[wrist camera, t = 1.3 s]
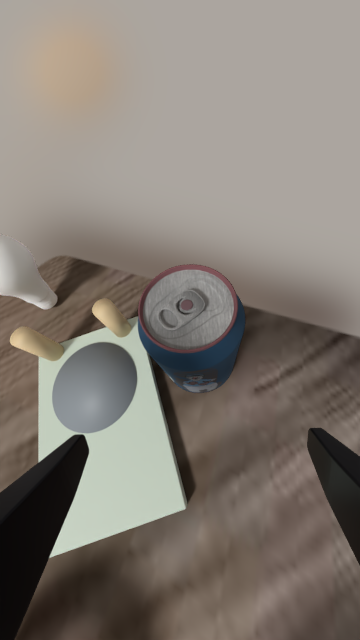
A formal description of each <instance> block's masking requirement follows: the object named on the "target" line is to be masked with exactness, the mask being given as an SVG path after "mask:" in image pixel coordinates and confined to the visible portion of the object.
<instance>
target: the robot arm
mask: <svg viewBox="0 0 360 640" xmlns="http://www.w3.org/2000/svg"><path fill="white" fill-rule="evenodd" d="M307 447H308V451H309V454H310V457H311V459H312V462H313V464H314V467H315V469H316V472H317V475H318V477H319V480H320V482H321V485H322V488H323V490H324V493H325V495H326V498H327V500H328V502H329V504H330V506H331V508H332V510H333V512H334V514H335V516H336V518H337V520H338V522H339V524H340V526H341V528H342V530H343V532H344V535H345V537H346V539H347V541H348V543H349V545H350V547H351V549H352V551H353V553H354V555H355V557H356V559H357V561H358V563H359V565H360V456H358V455H357V454H356V453H354V452H353V451H352V450H350V449H349V448H348V447H346V446H345V445H344V444H342V443H341V442H340V441H338V440H337V439H336V438H334V437H333V436H331V435H330V434H329V433H327V432H326V431H325V430H323V429H322V428H310V429H309V431H308V441H307ZM88 455H89V447H88V444H87V441H86V438H85V436H84V435H83V434H75V435H73V436H71V437H70V438H69V439H68V440H66V441H65V442H64V443H63V444H61V445H60V446H59V447H58V448H56V449H55V450H54V451H52V452H51V453H50V454H49V455H47V456H46V457H45V458H44V459H42V460H41V461H40V462H39V463H37V464H36V465H35V466H34V467H32V468H31V469H30V470H28V471H27V472H26V473H25V474H23V475H22V476H21V477H20V478H18V479H17V480H16V481H15V482H13V483H12V484H11V485H9V486H8V487H7V488H6V489H4V490H3V491H2V492H1V493H0V640H15V637H16V635H17V633H18V630H19V628H20V625H21V623H22V621H23V618H24V616H25V614H26V611H27V609H28V606H29V604H30V602H31V599H32V597H33V595H34V592H35V590H36V588H37V585H38V583H39V580H40V578H41V576H42V573H43V571H44V569H45V566H46V564H47V562H48V559H49V557H50V554H51V552H52V550H53V547H54V545H55V543H56V540H57V538H58V536H59V533H60V531H61V528H62V526H63V524H64V521H65V519H66V517H67V514H68V512H69V509H70V507H71V505H72V502H73V500H74V497H75V495H76V492H77V489H78V486H79V483H80V480H81V477H82V474H83V471H84V468H85V465H86V462H87V459H88Z"/></svg>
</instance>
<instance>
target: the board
mask: <svg viewBox="0 0 360 640" xmlns="http://www.w3.org/2000/svg"><path fill="white" fill-rule="evenodd" d="M92 312H93V314H94V315H95V316H96V317H97V318H98V319H99V320H100V321H101V322H102V323H103V324H104V325H105V326H106V327H105V328H102V329H99V330H96V331H94V332H91V333H88V334H85V335H82V336H79V337H76V338H73V339H71V340H68V341H65V342H62V343H59V344H58V343H57V342H55V341H53V340H51V339H49V338H47V337H45V336H44V335H42V334H40V333H38V332H36V331H34V330H32V329H30V328H29V327H26V326H23V327H20V328H18V329H16V330H15V331H14V332H13V334H12V335H11V338H10V342H11V344H12V345H13V346H15V347H17V348H20V349H22V350H25V351H27V352H30V353H32V354H35V355H37V356H39V462H40V461H41V460H42V459H44V458H45V457H46V456H47V455H49V454H50V453H51V452H52V451H54V450H55V449H56V448H58V447H59V446H60V445H61V444H63V443H64V442H65V441H66V440H68V439H69V438H70V437H71V436H73V435H75V434H83V435H84V436H85V438H86V441H87V444H88V447H89V455H88V459H87V462H86V465H85V468H84V471H83V474H82V477H81V480H80V483H79V486H78V489H77V492H76V495H75V497H74V500H73V502H72V505H71V507H70V509H69V512H68V514H67V517H66V519H65V521H64V524H63V526H62V528H61V531H60V533H59V536H58V538H57V540H56V543H55V545H54V547H53V550H52V552H51V554H50V557H53V556H56V555H58V554H61V553H64V552H67V551H70V550H72V549H75V548H78V547H81V546H84V545H86V544H89V543H92V542H95V541H97V540H100V539H103V538H106V537H109V536H111V535H114V534H117V533H120V532H122V531H125V530H128V529H131V528H134V527H136V526H139V525H142V524H145V523H148V522H150V521H153V520H156V519H159V518H161V517H164V516H167V515H170V514H173V513H175V512H178V511H181V510H184V509H186V507H187V500H186V496H185V492H184V488H183V484H182V480H181V476H180V472H179V468H178V465H177V461H176V457H175V453H174V449H173V445H172V441H171V437H170V433H169V429H168V425H167V421H166V418H165V414H164V410H163V406H162V402H161V398H160V394H159V390H158V386H157V382H156V378H155V375H154V371H153V367H152V363H151V359H150V355H149V354H148V352H147V351H146V350H145V348H144V347H143V345H142V343H141V340H140V337H139V333H138V316H137V317H134V318H131V319H128V320H126V319H125V317H124V316H123V315H122V314H121V312H120V311H119V310H118V309H117V308H116V306H115V305H114V304H113V303H112V301H111V300H109V299H100V300H98V301H97V302H96V303H95V304H94V306H93V308H92ZM50 557H49V558H50Z"/></svg>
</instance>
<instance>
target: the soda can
mask: <svg viewBox="0 0 360 640" xmlns="http://www.w3.org/2000/svg"><path fill="white" fill-rule="evenodd" d="M138 315H139V316H138V333H139V337H140V340H141V343H142V345H143V347H144V348H145V350H146V351H147V352H148V354H149V355H150V356H151V357H152V358H153V359H154V360H155V361H156V363H157V364H158V365H159V366H160V367H161V368H162V369H163V370H164V371H165V373H166V374H167V375H168V376H169V377H170V378H171V379H172V380H173V382H174V383H175V384H176V385H178V386H179V387H181V388H182V389H184V390H186V391H189V392H194V393H205V392H210V391H212V390H215V389H217V388H218V387H220V386H221V385H222V384H224V383H225V382H226V380H227V379H228V378H229V376H230V374H231V372H232V370H233V366H234V363H235V360H236V356H237V353H238V349H239V346H240V343H241V339H242V336H243V332H244V328H245V312H244V308H243V305H242V303H241V301H240V299H239V297H238V296H237V294H236V292H235V290H234V288H233V286H232V284H231V283H230V282H229V281H228V279H227V278H226V277H224V276H223V275H222V274H221V273H219V272H218V271H216V270H214V269H212V268H209V267H206V266H201V265H193V264H192V265H191V264H190V265H180V266H175V267H172V268H169V269H167V270H165V271H164V272H162V273H160V274H159V275H158V276H156V277H155V278H154V279H153V280H152V281H151V282H150V283H149V284H148V285H147V287H146V288H145V290H144V291H143V293H142V296H141V298H140V302H139V307H138Z"/></svg>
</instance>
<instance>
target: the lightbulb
mask: <svg viewBox="0 0 360 640" xmlns="http://www.w3.org/2000/svg"><path fill="white" fill-rule="evenodd" d="M0 295H4V296H14V297H18V298H21V299H23V300H25V301H26V302H28V303H33V304H35V305H37V306H38V307H40V308H42V309H50V308H52V307H53V306H54V305H55V304H56V303H57V295H56V294H55V293H54V292H53V291H52V290H51V289H50V288H49V286H48V284H47V283H46V282H45V281H44V280H43V279H42V278H41V276H40V274H39V272H38V268H37V265H36V262H35V259H34V256H33V255H32V253H31V252H30V250H29V249H28V248H27V247H26V246H25V245H24V244H22V243H21V242H19V241H18V240H16V239H14V238H12V237H10V236H7V235H3V234H0Z"/></svg>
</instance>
